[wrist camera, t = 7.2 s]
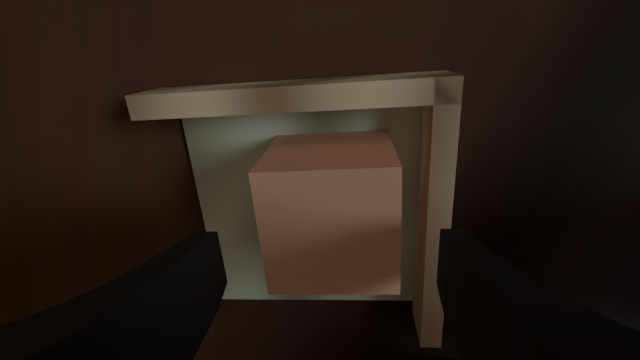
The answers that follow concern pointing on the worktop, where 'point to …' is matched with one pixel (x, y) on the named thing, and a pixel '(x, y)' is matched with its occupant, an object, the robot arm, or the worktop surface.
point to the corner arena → (321, 117)
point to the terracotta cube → (330, 213)
